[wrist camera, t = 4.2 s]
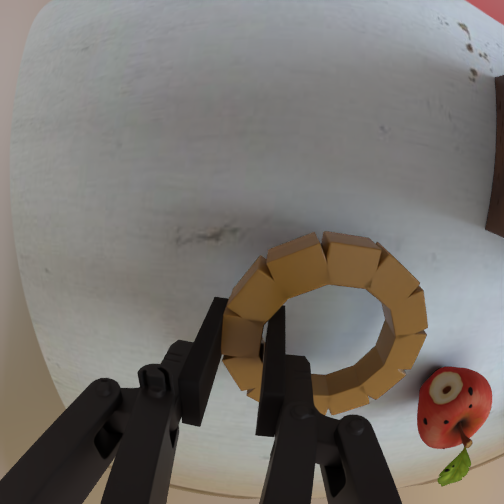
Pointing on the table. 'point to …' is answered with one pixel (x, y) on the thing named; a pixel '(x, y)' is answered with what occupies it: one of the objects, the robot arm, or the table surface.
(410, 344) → the ring
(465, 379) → the apple
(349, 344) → the table surface
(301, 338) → the table surface
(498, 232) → the stand
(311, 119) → the table surface
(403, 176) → the table surface
